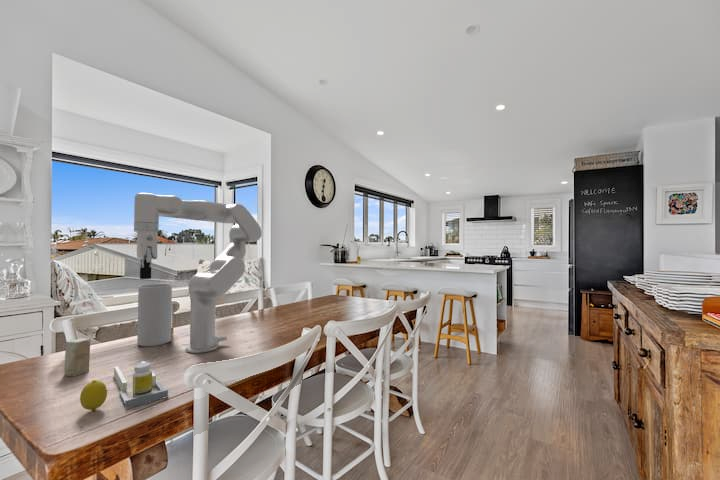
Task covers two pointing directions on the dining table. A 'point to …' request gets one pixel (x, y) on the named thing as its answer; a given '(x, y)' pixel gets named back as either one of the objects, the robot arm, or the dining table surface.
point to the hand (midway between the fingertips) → (145, 278)
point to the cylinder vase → (154, 314)
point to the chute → (122, 381)
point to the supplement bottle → (142, 379)
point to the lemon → (93, 395)
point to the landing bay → (144, 396)
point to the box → (77, 356)
